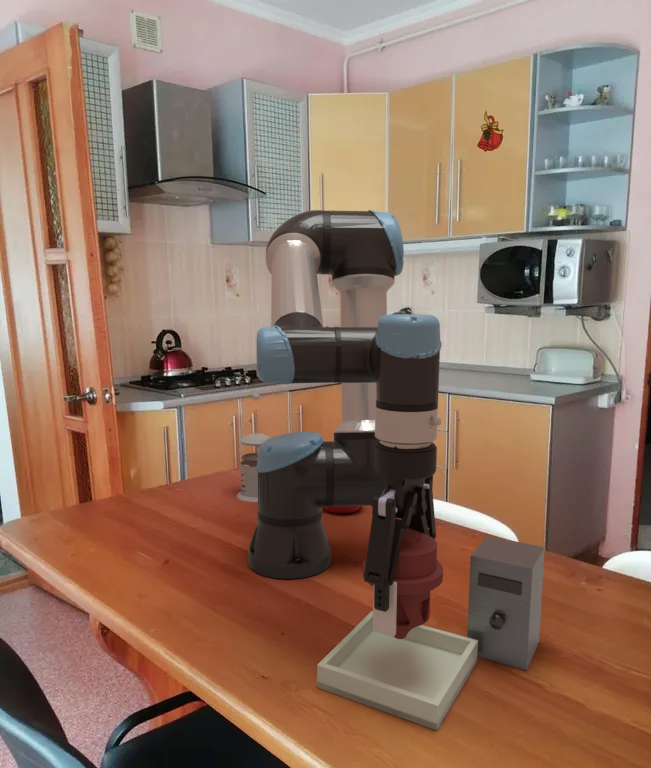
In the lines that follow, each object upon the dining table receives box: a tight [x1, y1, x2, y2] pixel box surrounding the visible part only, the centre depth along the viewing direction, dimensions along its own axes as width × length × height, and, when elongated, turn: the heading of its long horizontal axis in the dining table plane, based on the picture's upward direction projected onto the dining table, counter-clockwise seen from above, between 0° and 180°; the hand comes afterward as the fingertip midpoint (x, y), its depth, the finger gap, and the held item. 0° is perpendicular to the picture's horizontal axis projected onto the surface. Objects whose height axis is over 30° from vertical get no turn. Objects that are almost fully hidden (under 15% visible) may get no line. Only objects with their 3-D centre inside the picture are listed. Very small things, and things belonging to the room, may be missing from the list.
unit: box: [467, 535, 546, 672], centre depth 86 cm, size 8×9×14 cm
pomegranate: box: [324, 506, 362, 514], centre depth 143 cm, size 10×10×9 cm
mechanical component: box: [362, 528, 444, 639], centre depth 79 cm, size 12×10×10 cm
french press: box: [236, 393, 271, 503], centre depth 152 cm, size 10×12×25 cm
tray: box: [316, 610, 478, 731], centre depth 81 cm, size 16×16×3 cm
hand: (401, 613), depth 80 cm, fingers closed on mechanical component, 10 cm apart
